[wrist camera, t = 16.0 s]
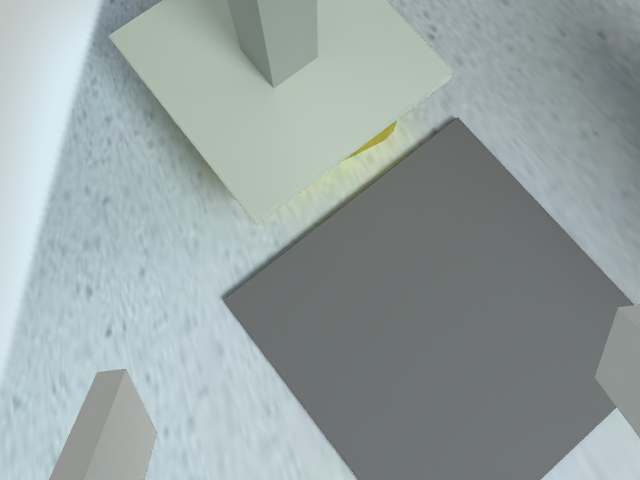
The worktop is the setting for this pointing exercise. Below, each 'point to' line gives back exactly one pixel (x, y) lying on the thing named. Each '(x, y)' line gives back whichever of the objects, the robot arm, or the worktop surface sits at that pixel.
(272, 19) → the sage lid
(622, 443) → the worktop surface
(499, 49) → the worktop surface
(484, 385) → the rubber mat
